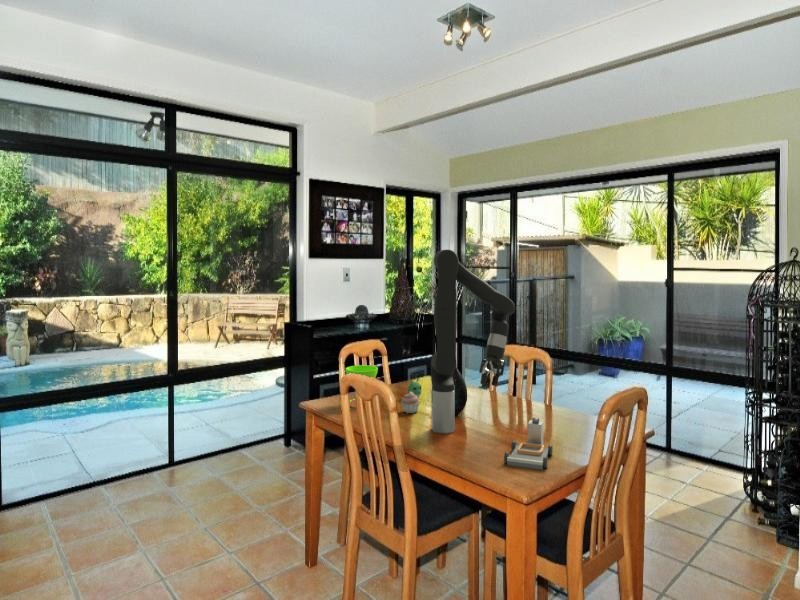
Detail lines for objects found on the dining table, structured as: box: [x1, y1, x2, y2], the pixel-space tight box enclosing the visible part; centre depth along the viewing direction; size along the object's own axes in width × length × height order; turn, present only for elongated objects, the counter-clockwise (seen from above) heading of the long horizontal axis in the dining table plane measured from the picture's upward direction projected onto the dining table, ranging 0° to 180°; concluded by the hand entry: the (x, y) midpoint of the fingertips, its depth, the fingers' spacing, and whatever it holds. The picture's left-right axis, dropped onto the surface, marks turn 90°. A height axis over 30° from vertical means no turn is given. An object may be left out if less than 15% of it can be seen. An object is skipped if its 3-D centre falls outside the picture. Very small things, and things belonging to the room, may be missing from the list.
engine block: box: [527, 417, 544, 445], centre depth 211 cm, size 5×5×10 cm
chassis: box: [503, 440, 554, 471], centre depth 197 cm, size 18×14×4 cm
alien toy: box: [407, 378, 422, 398], centre depth 285 cm, size 7×8×10 cm
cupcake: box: [400, 391, 421, 414], centre depth 259 cm, size 9×9×10 cm
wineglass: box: [345, 364, 379, 402], centre depth 274 cm, size 16×16×18 cm
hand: (488, 384), depth 225 cm, fingers open, 8 cm apart
